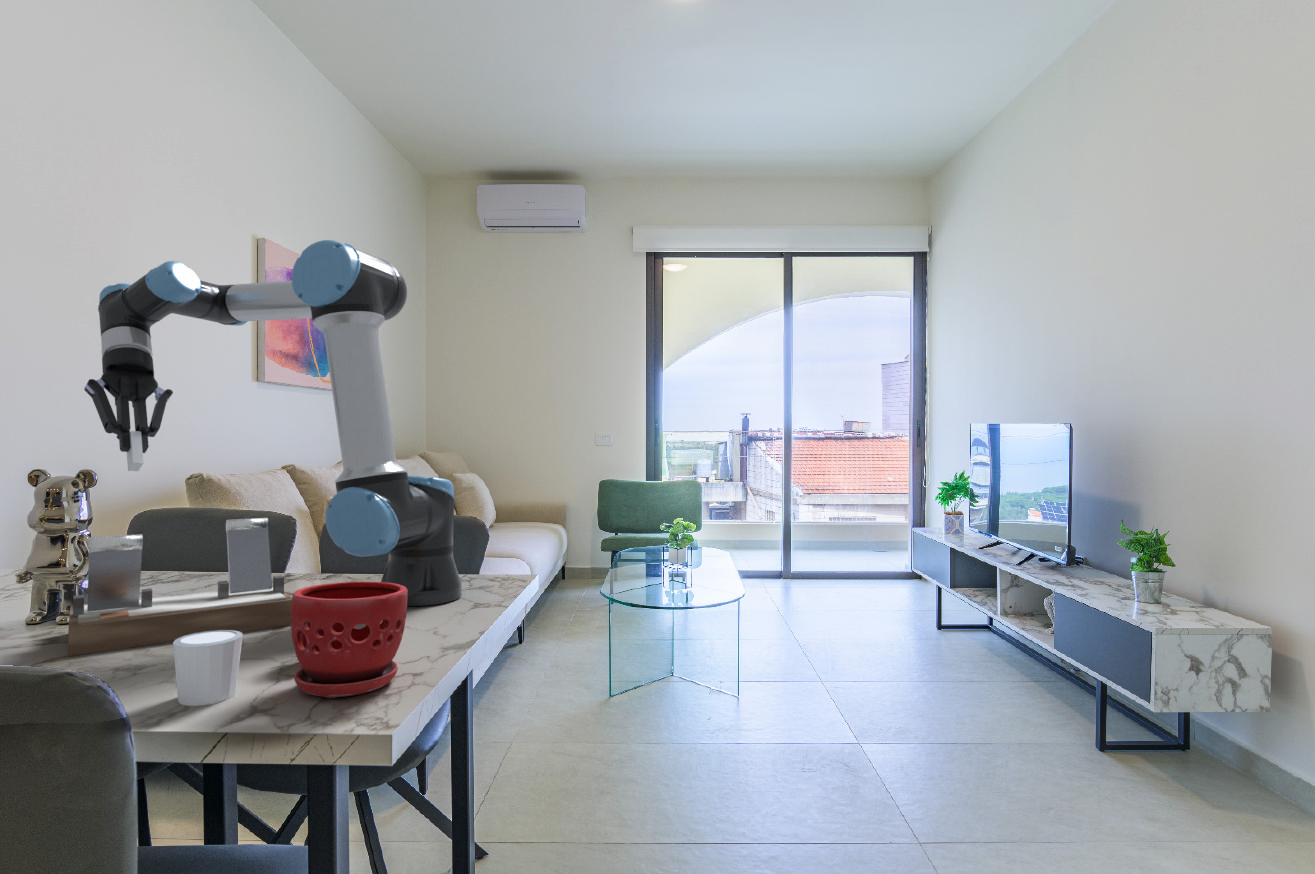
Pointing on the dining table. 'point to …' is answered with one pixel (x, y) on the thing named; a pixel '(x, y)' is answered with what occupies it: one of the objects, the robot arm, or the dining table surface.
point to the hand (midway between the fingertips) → (135, 466)
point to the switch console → (176, 617)
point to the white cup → (207, 666)
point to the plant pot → (347, 636)
